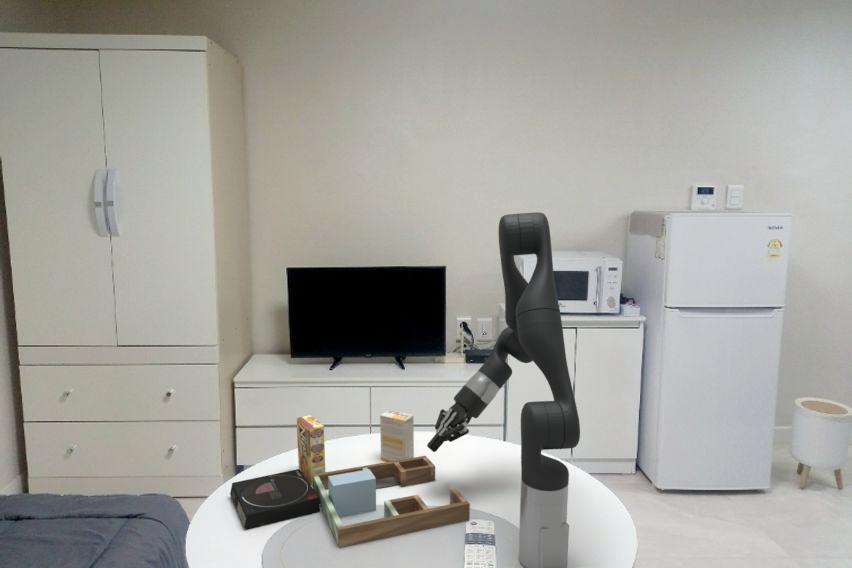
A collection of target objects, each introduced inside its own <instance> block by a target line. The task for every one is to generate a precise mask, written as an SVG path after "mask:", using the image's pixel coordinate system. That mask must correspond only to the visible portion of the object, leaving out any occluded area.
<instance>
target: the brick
mask: <svg viewBox="0 0 852 568" xmlns="http://www.w3.org/2000/svg"><path fill="white" fill-rule="evenodd" d="M327 491H328V492H327V494H328V496H329V498H330V500H331V502H332V504H333V506H334V508H335V510H336V512H337V514H338V516H339V518H344V517H349V516H355V515H359V514H360V515H361V514H366V513H370V512H376V511H377V489H376V478H375V476H374V475H373V474H372V472H371V471H370V469H368V470H362V471H356V472H350V473H344V474H339V475H333V476H328V489H327Z"/></svg>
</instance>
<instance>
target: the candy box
mask: <svg viewBox="0 0 852 568" xmlns="http://www.w3.org/2000/svg"><path fill="white" fill-rule="evenodd" d="M296 431H297V432H296V433H297V434H296V435H297V457H298V469H300V471H301V472H302V474H303V475H304V476H305V478H306V479H307V481H308V482H309V483H310V485H311V486H312V487H313V474H319V473H325V472H326V453H325V452H326V450H325V425H324V424H323V423H321V422H319V420H317V419H316V418H315V417H314V416H313V415H309V414H308V415H306V416H305V415H304V416H301V417H297V418H296Z"/></svg>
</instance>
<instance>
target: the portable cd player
mask: <svg viewBox="0 0 852 568" xmlns="http://www.w3.org/2000/svg"><path fill="white" fill-rule="evenodd" d="M230 488H231V489H230V492H229V495H230V497H231V499H232V501H233V504H234V506H235V508H236V510H237V511H236V512H237V514H238V516H239V518H240V521H241V523H242V525H243V527H244V528H245V530H246V531H248V530H253V529H256V528H261V527H265V526H268V525H272V524H277V523H281V522H285V521H289V520H294V519H298V518H302V517H305V516H310V515H314V514H318V513H320V511H321V506H320V498H319V496H318V495H317V493H316V492H315V491H314V489H313V486H311V485H310V483H309V482H308V481H307V479H306V478H305V476H304V475H303V474H302V472H301V471H300V469H299V468H297V469H292V470H287V471H283V472H278V473H274V474H269V475H268V474H267V475H264V476H258V477H254V478H249V479H245V480H244V479H243V480H240V481H235V482H232V483H231V487H230Z"/></svg>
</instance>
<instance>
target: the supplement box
mask: <svg viewBox="0 0 852 568" xmlns="http://www.w3.org/2000/svg"><path fill="white" fill-rule="evenodd" d="M379 420H380V421H379V422H380V423H379V424H380V428H379V429H380V460H381V459H382V460H381V461H384V462H390V461H396V460H402V459H408V458H414V457H415V451H414V450H415V445H414V444H415V443H414V441H415V440H414V429H415V428H414V426H415V425H414V415H413V414H409V413H404V412H401V411H395V410H391V409H389V410H387V411H385V412H383V413H382V414H380V415H379Z"/></svg>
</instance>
